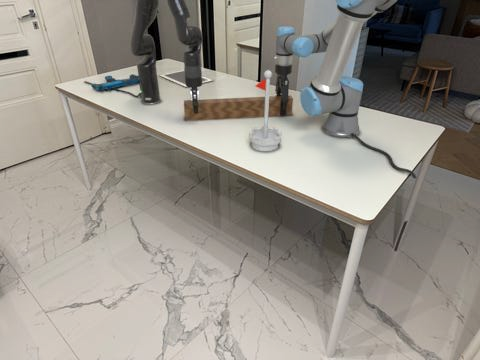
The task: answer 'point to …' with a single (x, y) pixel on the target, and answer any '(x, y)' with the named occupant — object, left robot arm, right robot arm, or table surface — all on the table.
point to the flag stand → (265, 123)
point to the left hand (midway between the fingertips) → (196, 111)
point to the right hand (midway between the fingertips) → (280, 111)
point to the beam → (235, 108)
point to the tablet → (180, 77)
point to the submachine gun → (115, 82)
